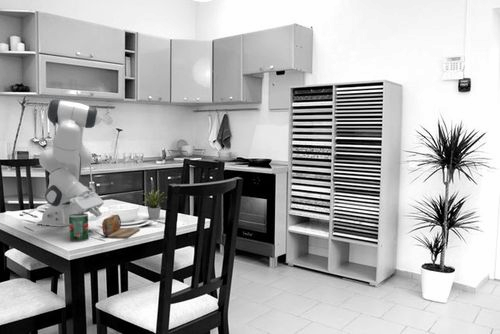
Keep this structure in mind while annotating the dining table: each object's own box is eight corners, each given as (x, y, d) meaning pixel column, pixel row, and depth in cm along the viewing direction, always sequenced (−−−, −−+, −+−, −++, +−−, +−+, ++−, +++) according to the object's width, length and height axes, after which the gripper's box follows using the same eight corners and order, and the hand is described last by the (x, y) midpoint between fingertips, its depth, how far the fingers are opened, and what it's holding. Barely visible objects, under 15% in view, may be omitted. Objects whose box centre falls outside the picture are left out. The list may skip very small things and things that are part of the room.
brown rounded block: (108, 238, 196) (107, 219, 195) (101, 238, 196) (100, 219, 196) (121, 230, 211) (121, 213, 210) (115, 230, 211) (114, 212, 211)
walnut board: (107, 238, 196) (107, 235, 196) (121, 230, 211) (121, 228, 211) (126, 238, 195) (126, 236, 195) (139, 230, 210) (139, 228, 209)
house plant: (147, 223, 226) (146, 191, 224) (134, 218, 236) (133, 189, 234) (171, 218, 235) (170, 188, 234) (157, 215, 245) (156, 186, 244)
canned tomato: (92, 239, 194) (91, 215, 193) (74, 242, 188) (73, 217, 187) (84, 236, 200) (83, 212, 199) (67, 239, 194) (65, 215, 193)
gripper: (71, 192, 193) (93, 214, 192) (93, 187, 213) (113, 207, 212) (62, 202, 194) (84, 224, 193) (85, 196, 214) (105, 216, 213)
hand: (99, 215), depth 203 cm, fingers closed
